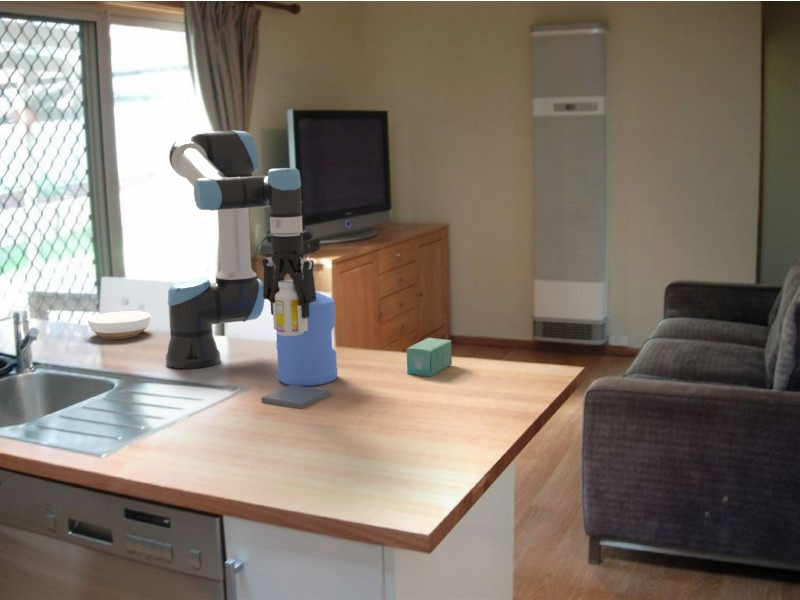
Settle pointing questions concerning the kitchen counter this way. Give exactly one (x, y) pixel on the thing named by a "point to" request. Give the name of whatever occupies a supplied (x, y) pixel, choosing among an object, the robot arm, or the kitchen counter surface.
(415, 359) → the box
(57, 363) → the kitchen counter surface
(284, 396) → the coaster
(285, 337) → the water jug
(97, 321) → the bowl
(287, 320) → the supplement bottle
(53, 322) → the kitchen counter surface
